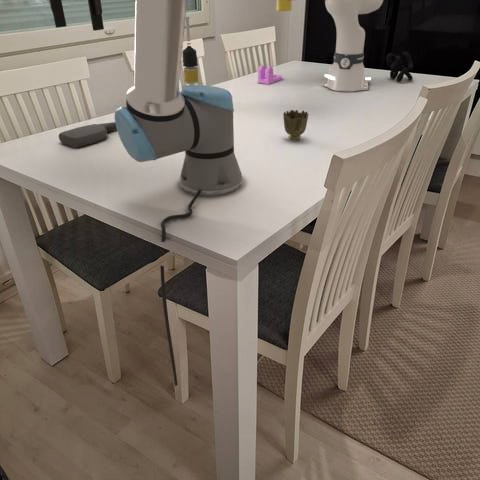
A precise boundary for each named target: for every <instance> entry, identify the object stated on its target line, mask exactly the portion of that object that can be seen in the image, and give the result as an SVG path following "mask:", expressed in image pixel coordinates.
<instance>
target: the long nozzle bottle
mask: <svg viewBox="0 0 480 480" xmlns="http://www.w3.org/2000/svg"><path fill="white" fill-rule="evenodd" d="M190 19H191V17H190V16H185V32H186V34H185V35H186V37H185V38H186V42H188V43H186V45H187V46H186V47H185V48H184V49H182V66H183V79H184V84H186V85H197V84H198V83H200V82H199V68H198V66H199V64H198V55H197V50H196V49H195V48H193V47H192V46H191V44H192V43H189V42H191V34H190V33H191V32H190Z"/></svg>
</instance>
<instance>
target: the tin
mask: <svg viewBox="0 0 480 480" xmlns="http://www.w3.org/2000/svg"><path fill="white" fill-rule="evenodd" d="M275 1H276V4H275V5H276V7H275V9H276V10H275V11H276V12H291V11H292V1H289V0H275Z"/></svg>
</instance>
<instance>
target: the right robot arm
mask: <svg viewBox="0 0 480 480" xmlns="http://www.w3.org/2000/svg"><path fill="white" fill-rule="evenodd" d="M289 1H293V2H294V1H296V0H289ZM383 2H384V0H324V5H325V8H326V11H327V12H328V13H329V14H330V15H331V17H332V19H333V21H334V25H335V29H336V39H335V40H336V42H335V51H334V53H333V54H334V55H333V60H332V61H333V63H332V64H331V65H330V66H329V69H328V74H326V73H325V74H324V77H325V78H327V82H324V83H323V87H324V88H327V89H330V90H333V91H338V92H359V91H368V90H369V81H371V79H372V77H366V76H365V73H366V68H365V65H364V58H365V53H364V50H365V49H364V47H365V41H366V31H365V29H364V28H363V27H362V26H361V25H360V23H359V15H368V14H370V13H373V12H375V11H377V10H379V9H380V8H381V6H382V5H383Z"/></svg>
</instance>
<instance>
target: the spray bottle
mask: <svg viewBox="0 0 480 480" xmlns="http://www.w3.org/2000/svg"><path fill="white" fill-rule="evenodd" d="M113 131H117V128H116V124H115V121H112V122H105V123H104V122H103V123H93V124H87V125H82V126H78V127H75V128H71V129H68V130H64V131H61V132H60V133H59V134H58V139H59V141H60V143H61V144H64V145H67V146H70V147H72V148H80V147H85V146H89V145H92V144H95V143H99V142H101V141H103V140H105V139H106V138H107V136H108V133H109V132H113Z"/></svg>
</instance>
